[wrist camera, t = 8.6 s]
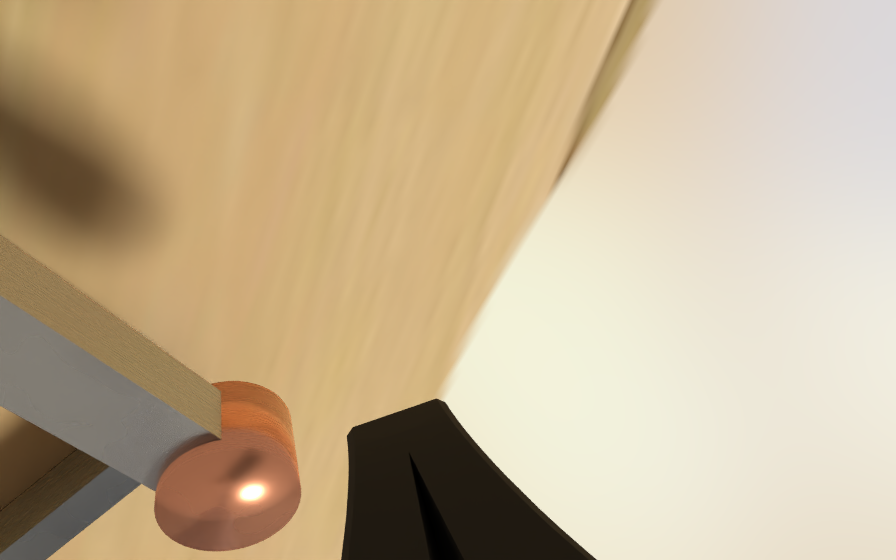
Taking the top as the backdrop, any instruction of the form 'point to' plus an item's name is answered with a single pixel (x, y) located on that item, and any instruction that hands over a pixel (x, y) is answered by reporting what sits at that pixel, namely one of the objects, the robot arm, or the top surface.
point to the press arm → (145, 412)
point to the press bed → (60, 507)
